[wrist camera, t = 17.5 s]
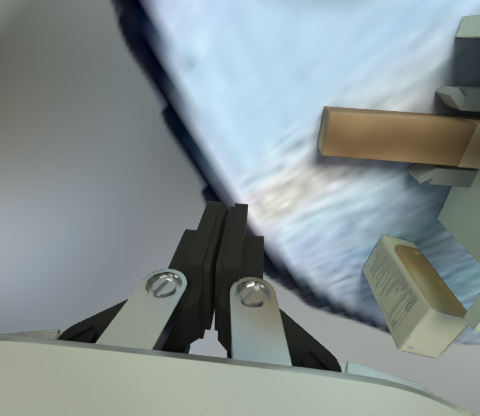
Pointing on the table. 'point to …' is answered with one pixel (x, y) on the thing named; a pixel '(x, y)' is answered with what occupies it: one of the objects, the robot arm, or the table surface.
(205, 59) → the table surface
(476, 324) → the shelter
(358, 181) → the table surface
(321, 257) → the table surface
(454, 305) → the skincare box
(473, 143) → the walnut batten
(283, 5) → the table surface
